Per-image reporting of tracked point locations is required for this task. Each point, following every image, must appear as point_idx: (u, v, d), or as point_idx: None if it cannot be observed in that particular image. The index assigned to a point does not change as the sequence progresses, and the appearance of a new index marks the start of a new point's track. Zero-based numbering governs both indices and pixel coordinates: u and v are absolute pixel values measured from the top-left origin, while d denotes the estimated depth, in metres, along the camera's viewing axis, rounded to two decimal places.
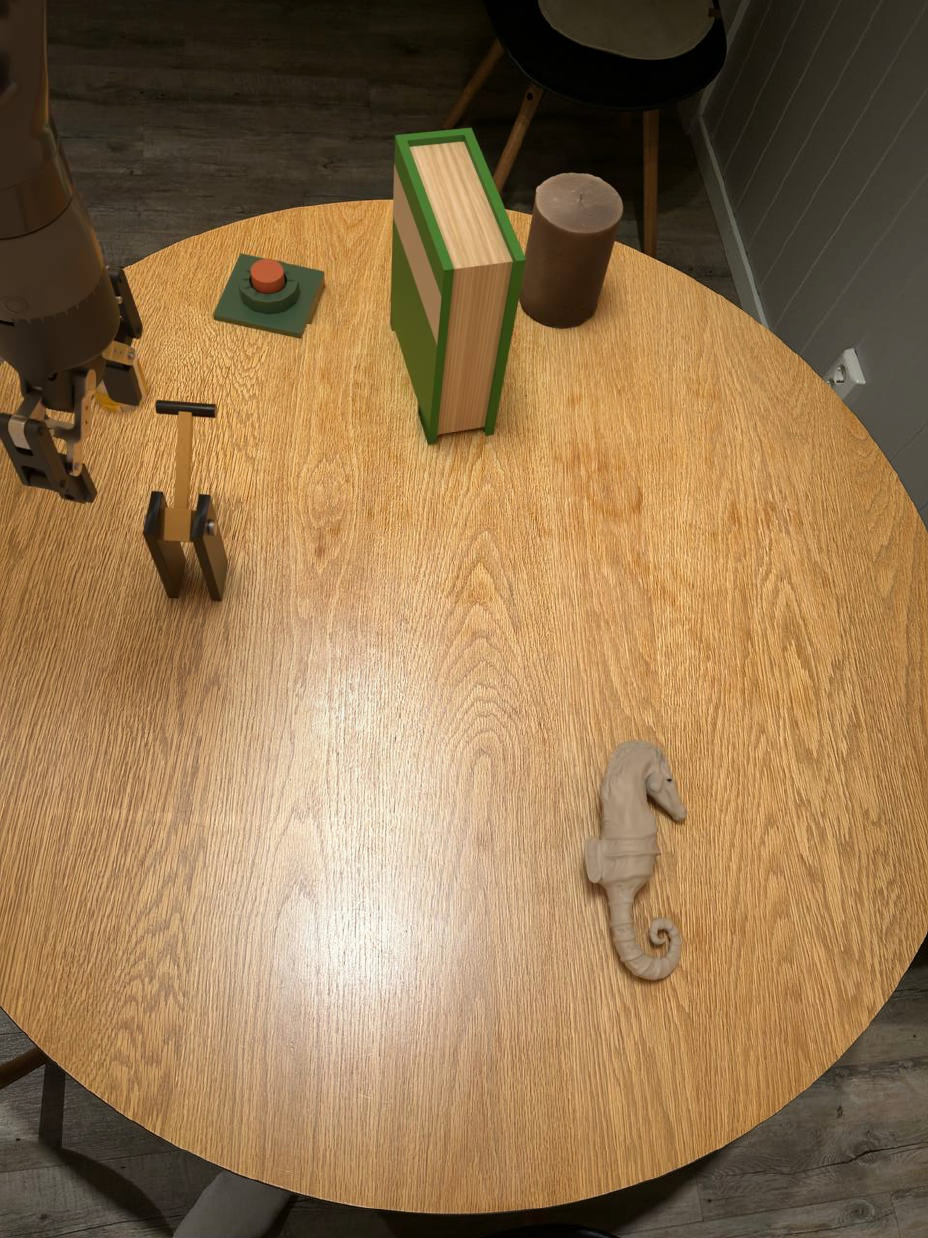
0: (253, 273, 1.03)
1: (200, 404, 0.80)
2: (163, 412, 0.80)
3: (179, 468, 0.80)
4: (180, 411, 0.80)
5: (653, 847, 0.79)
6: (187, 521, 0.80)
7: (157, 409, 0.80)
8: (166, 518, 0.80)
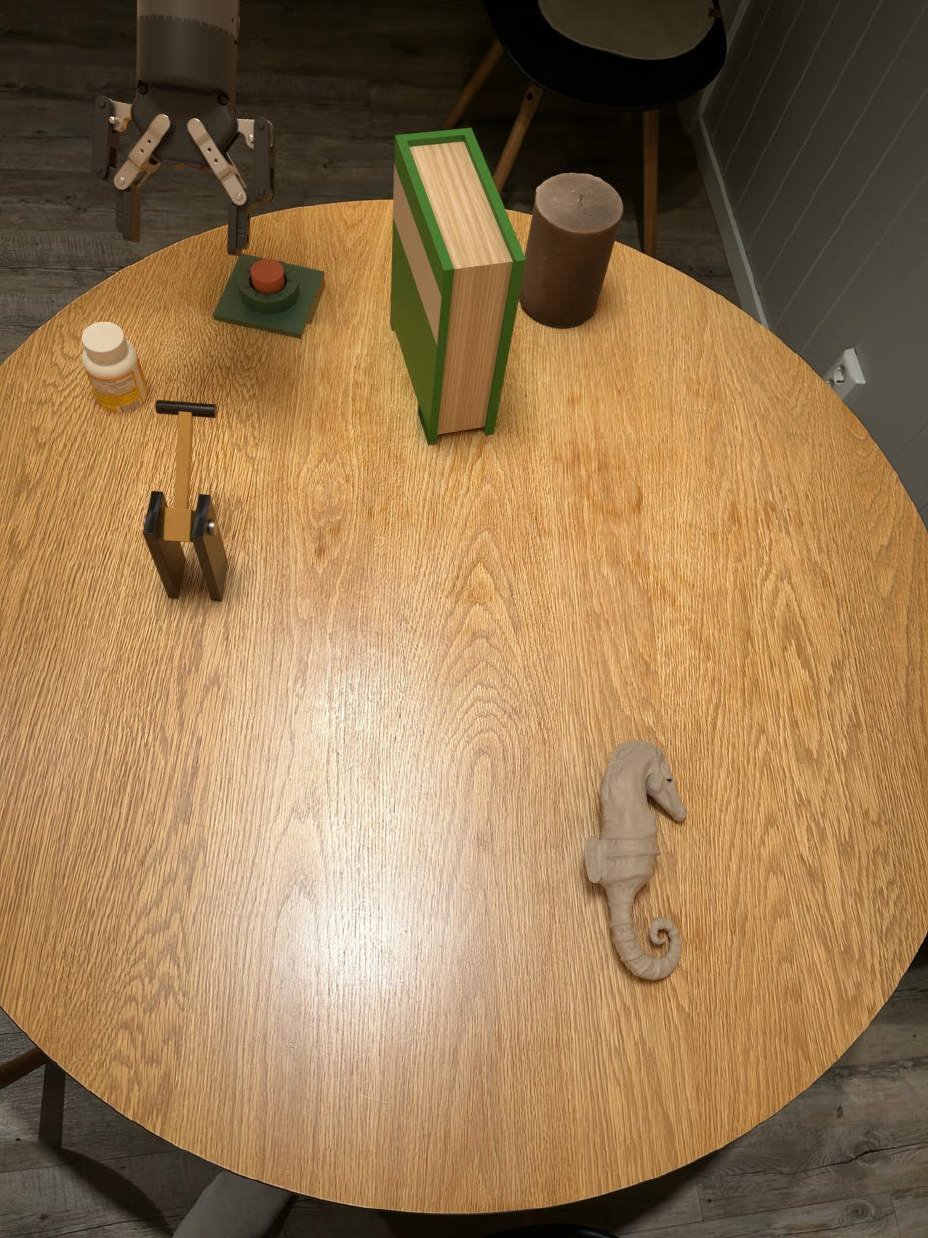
0: (253, 273, 1.03)
1: (200, 404, 0.80)
2: (163, 412, 0.80)
3: (179, 468, 0.80)
4: (180, 411, 0.80)
5: (653, 847, 0.79)
6: (187, 521, 0.80)
7: (157, 409, 0.80)
8: (166, 518, 0.80)
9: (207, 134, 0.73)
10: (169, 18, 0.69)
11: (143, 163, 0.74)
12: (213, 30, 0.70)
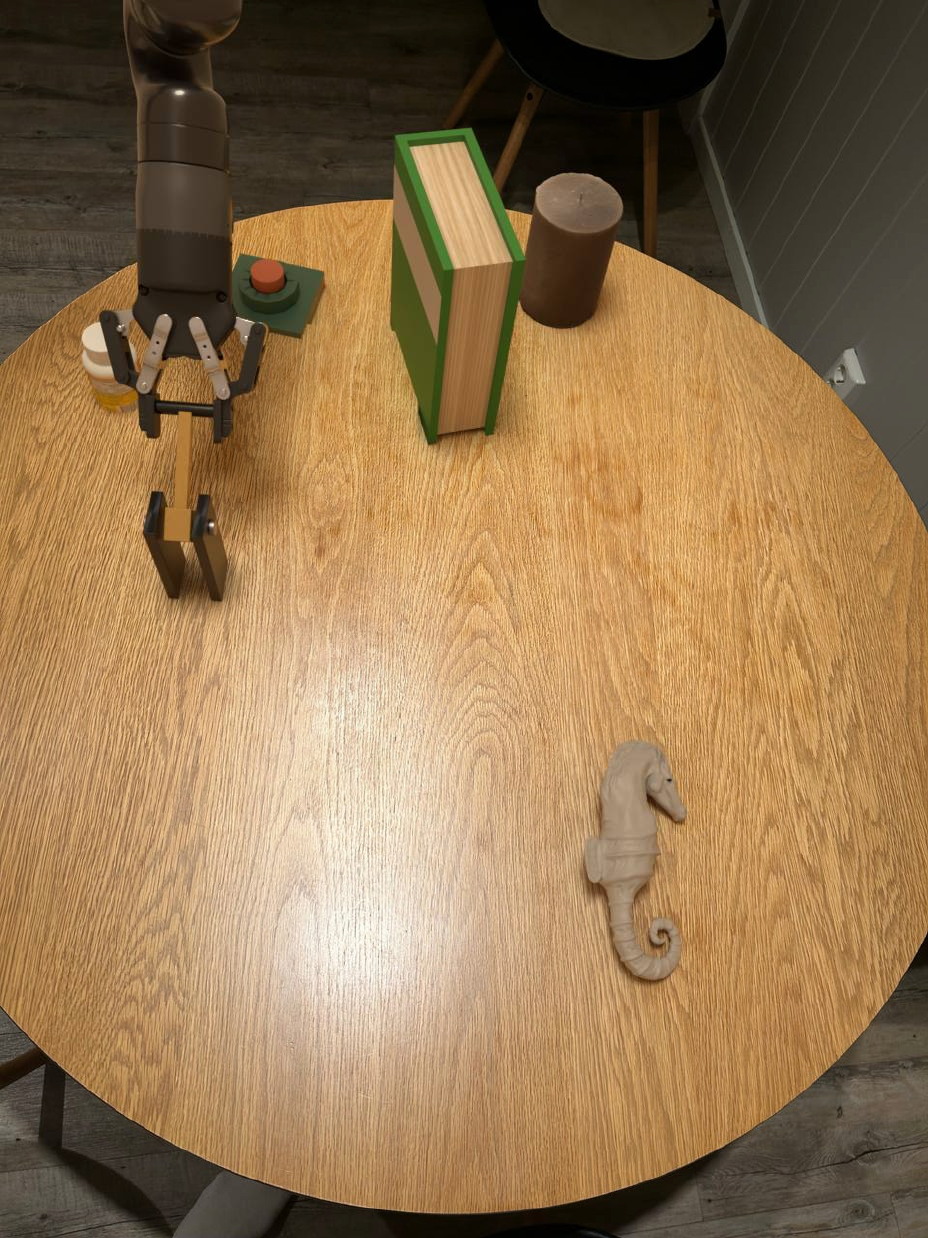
0: (253, 273, 1.03)
1: (200, 404, 0.80)
2: (163, 412, 0.80)
3: (179, 468, 0.80)
4: (180, 411, 0.80)
5: (653, 847, 0.79)
6: (187, 521, 0.80)
7: (157, 409, 0.80)
8: (166, 518, 0.80)
9: (206, 333, 0.77)
10: (169, 232, 0.73)
11: (158, 364, 0.78)
12: (211, 239, 0.74)
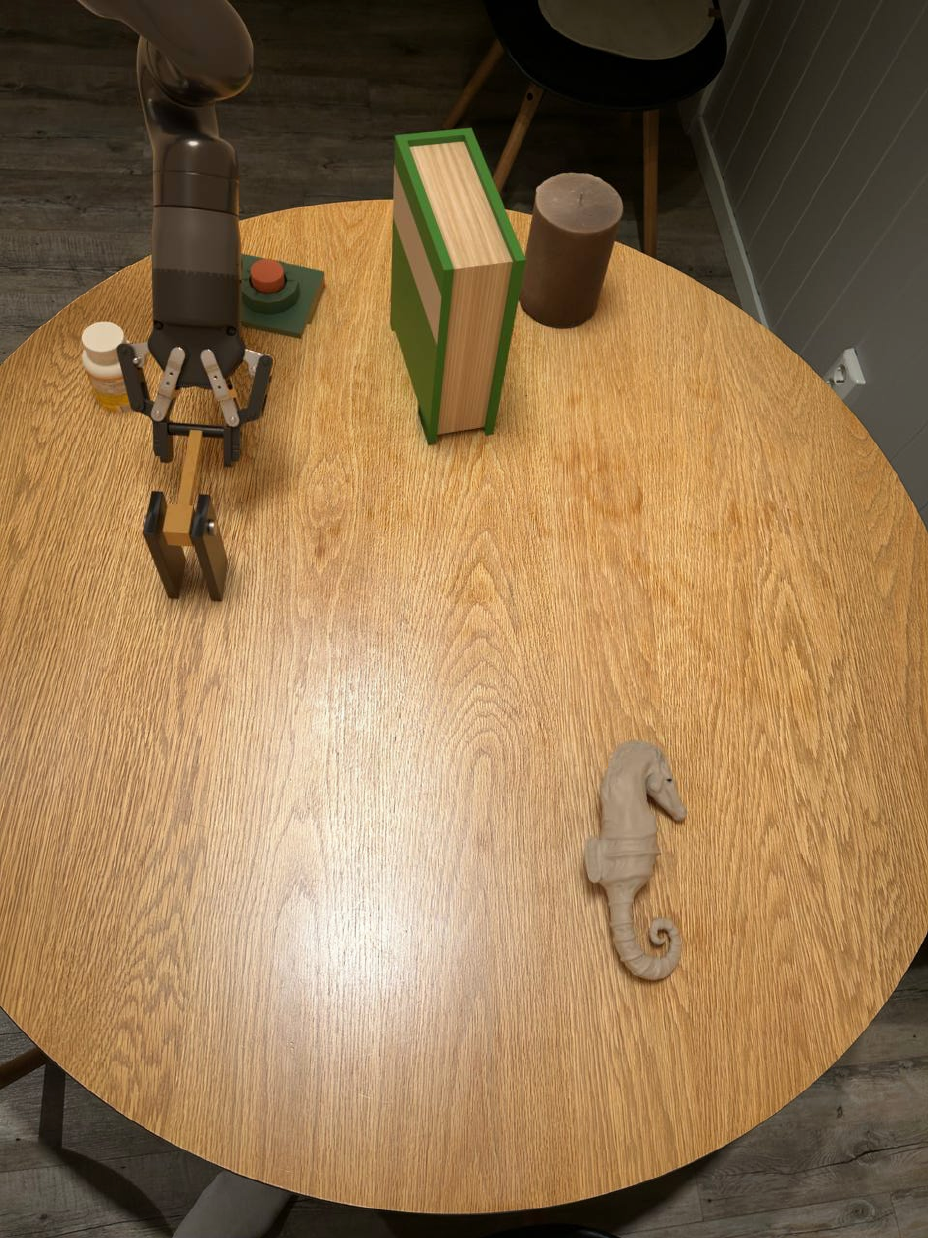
0: (253, 273, 1.03)
1: (211, 425, 0.85)
2: (175, 431, 0.85)
3: (185, 475, 0.83)
4: (191, 429, 0.85)
5: (653, 847, 0.79)
6: (188, 515, 0.80)
7: (170, 428, 0.85)
8: (167, 512, 0.80)
9: (217, 365, 0.82)
10: (183, 272, 0.78)
11: (171, 393, 0.83)
12: (222, 277, 0.79)
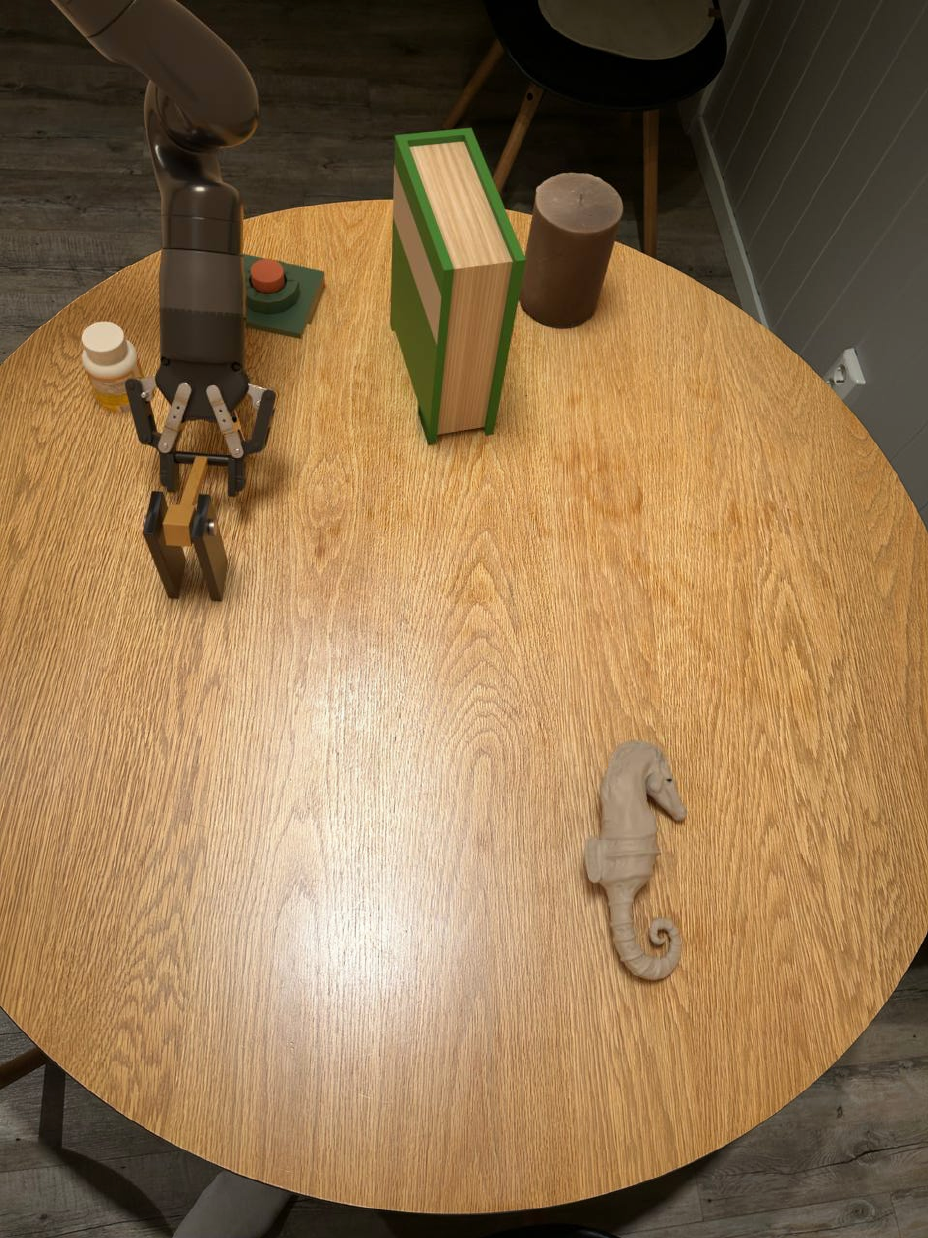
0: (253, 273, 1.03)
1: None
2: (181, 457, 0.88)
3: (188, 487, 0.84)
4: (197, 455, 0.88)
5: (653, 847, 0.79)
6: (189, 512, 0.81)
7: (176, 454, 0.88)
8: (169, 510, 0.81)
9: (222, 400, 0.85)
10: (190, 312, 0.81)
11: (178, 426, 0.86)
12: (227, 316, 0.82)
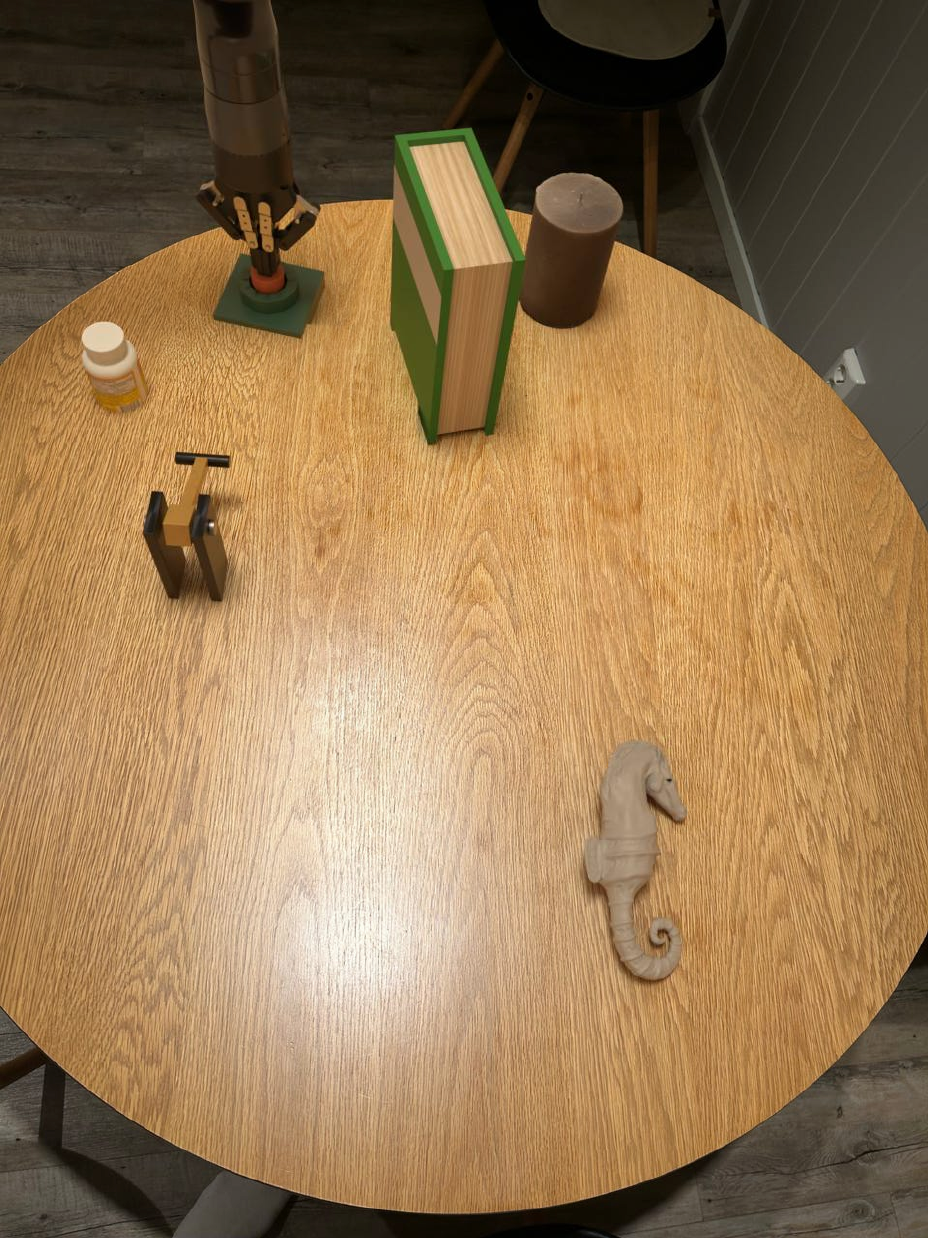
0: (253, 273, 1.03)
1: (216, 454, 0.88)
2: (181, 458, 0.88)
3: (188, 487, 0.84)
4: (197, 456, 0.88)
5: (653, 847, 0.79)
6: (189, 512, 0.81)
7: (176, 455, 0.88)
8: (169, 510, 0.81)
9: (269, 215, 0.94)
10: (234, 155, 0.87)
11: (252, 229, 0.97)
12: (269, 155, 0.87)
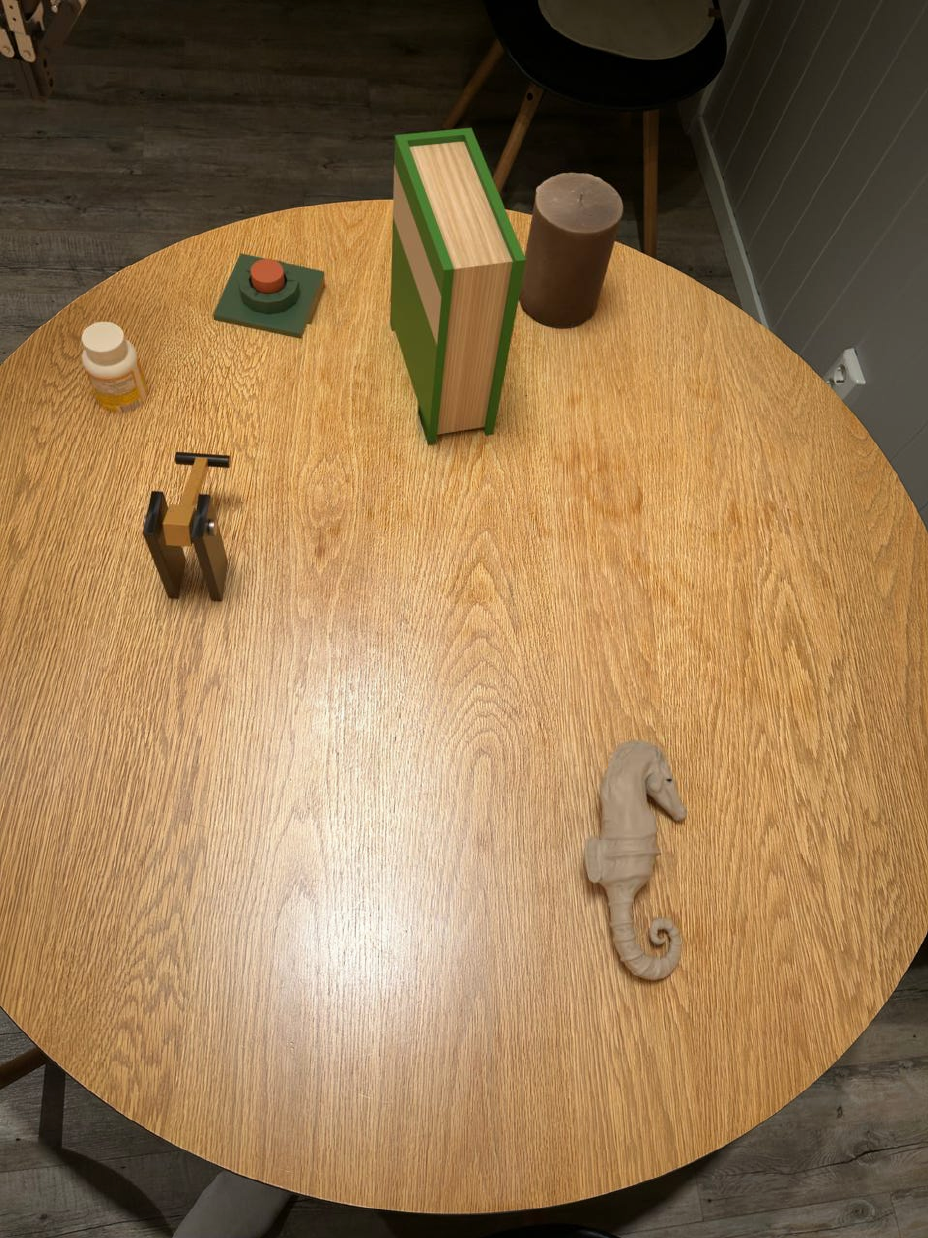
0: (253, 273, 1.03)
1: (216, 454, 0.88)
2: (181, 458, 0.88)
3: (188, 487, 0.84)
4: (197, 456, 0.88)
5: (653, 847, 0.79)
6: (189, 512, 0.81)
7: (176, 455, 0.88)
8: (169, 510, 0.81)
9: None
10: None
11: None
12: None
